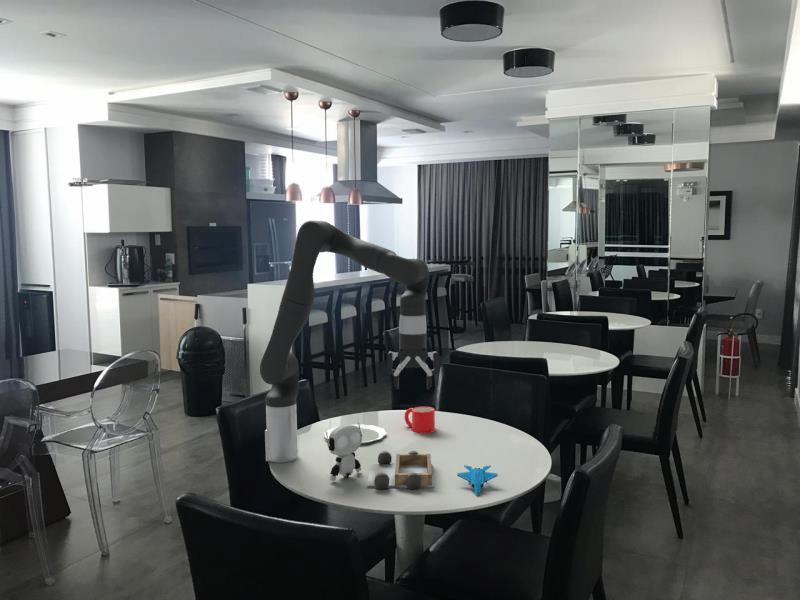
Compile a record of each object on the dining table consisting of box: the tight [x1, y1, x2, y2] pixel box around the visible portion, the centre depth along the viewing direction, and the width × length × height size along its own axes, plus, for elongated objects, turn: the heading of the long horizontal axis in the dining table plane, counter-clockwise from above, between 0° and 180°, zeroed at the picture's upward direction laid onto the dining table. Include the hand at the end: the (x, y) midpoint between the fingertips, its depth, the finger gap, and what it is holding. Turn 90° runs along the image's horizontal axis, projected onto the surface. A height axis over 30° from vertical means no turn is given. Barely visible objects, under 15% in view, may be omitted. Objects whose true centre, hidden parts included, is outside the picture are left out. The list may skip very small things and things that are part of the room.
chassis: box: [366, 450, 435, 491], centre depth 186 cm, size 18×20×4 cm
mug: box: [404, 406, 436, 434], centre depth 230 cm, size 8×12×8 cm, turn 55°
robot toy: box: [325, 421, 363, 482], centre depth 185 cm, size 12×4×15 cm, turn 135°
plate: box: [323, 423, 387, 445], centre depth 224 cm, size 21×21×2 cm
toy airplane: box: [456, 464, 499, 497], centre depth 178 cm, size 12×10×4 cm
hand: (412, 388), depth 184 cm, fingers open, 8 cm apart
